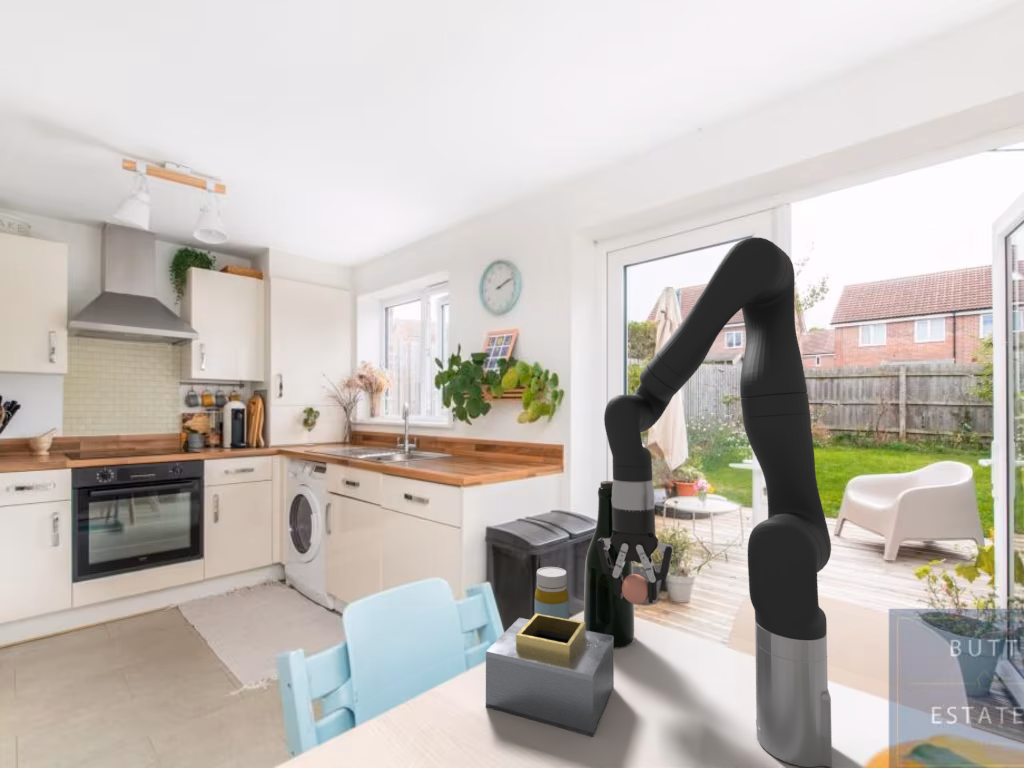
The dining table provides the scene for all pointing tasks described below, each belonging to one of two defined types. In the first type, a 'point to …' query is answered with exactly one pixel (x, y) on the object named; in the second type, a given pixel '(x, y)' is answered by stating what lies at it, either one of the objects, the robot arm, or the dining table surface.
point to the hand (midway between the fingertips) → (635, 599)
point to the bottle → (552, 592)
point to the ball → (635, 588)
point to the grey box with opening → (551, 673)
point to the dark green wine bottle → (606, 582)
